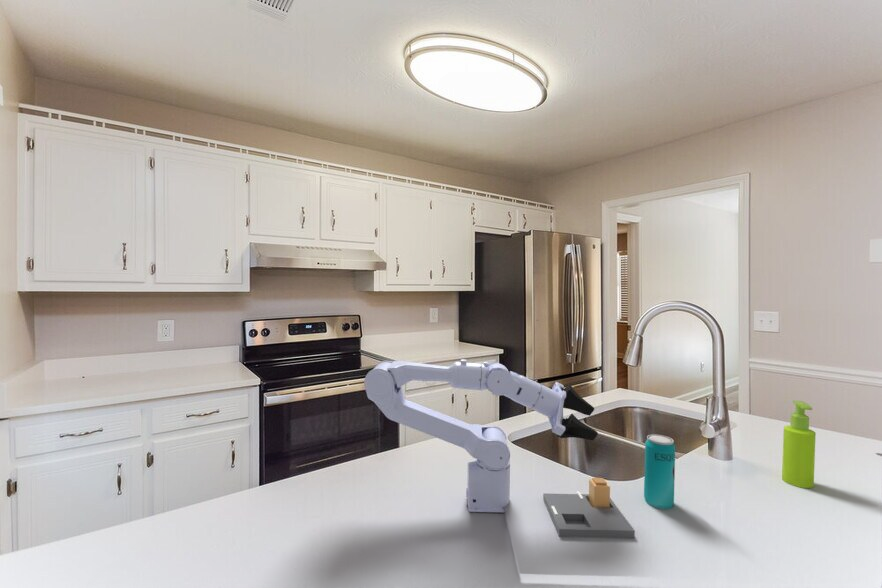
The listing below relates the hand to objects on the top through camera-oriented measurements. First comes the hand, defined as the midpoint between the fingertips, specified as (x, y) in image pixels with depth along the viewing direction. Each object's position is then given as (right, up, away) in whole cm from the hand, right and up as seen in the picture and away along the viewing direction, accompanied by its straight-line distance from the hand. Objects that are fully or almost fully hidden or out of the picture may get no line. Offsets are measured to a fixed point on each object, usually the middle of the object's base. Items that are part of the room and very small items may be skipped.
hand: (593, 423), depth 88 cm
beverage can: (+15, -19, +1) cm, 24 cm away
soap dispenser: (+55, -19, +12) cm, 59 cm away
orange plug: (+1, -17, -2) cm, 17 cm away
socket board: (-4, -18, -5) cm, 19 cm away
